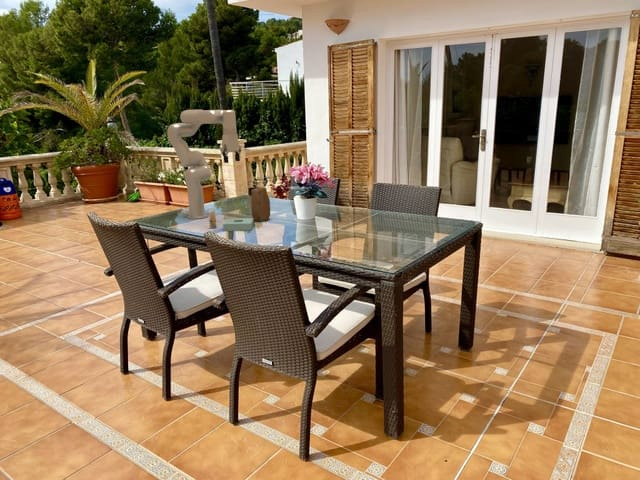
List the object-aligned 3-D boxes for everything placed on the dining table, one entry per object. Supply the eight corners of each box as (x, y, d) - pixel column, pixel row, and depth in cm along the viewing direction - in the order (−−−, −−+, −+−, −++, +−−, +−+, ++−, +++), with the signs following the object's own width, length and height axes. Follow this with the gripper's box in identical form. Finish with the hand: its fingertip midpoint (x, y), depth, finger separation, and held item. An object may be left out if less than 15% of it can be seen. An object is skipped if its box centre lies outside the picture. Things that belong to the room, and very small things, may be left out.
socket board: (223, 231, 280) (222, 224, 279) (226, 225, 293) (226, 218, 292) (251, 230, 280) (251, 223, 279) (253, 224, 294) (253, 217, 293)
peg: (209, 228, 285) (208, 211, 283) (210, 227, 289) (209, 210, 286) (215, 228, 285) (214, 211, 283) (216, 227, 289) (215, 210, 286)
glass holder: (252, 208, 340) (251, 186, 336) (271, 209, 335) (270, 187, 331) (246, 211, 332) (245, 188, 328) (265, 212, 327) (264, 189, 323)
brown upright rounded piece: (258, 222, 298) (256, 189, 293) (250, 220, 303) (249, 188, 298) (272, 219, 306) (270, 187, 300) (264, 217, 311) (263, 186, 305)
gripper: (235, 131, 294) (237, 160, 298) (214, 132, 280) (216, 163, 284) (244, 131, 290) (246, 160, 294) (224, 133, 276) (226, 163, 280)
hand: (232, 161), depth 289 cm, fingers open, 9 cm apart
